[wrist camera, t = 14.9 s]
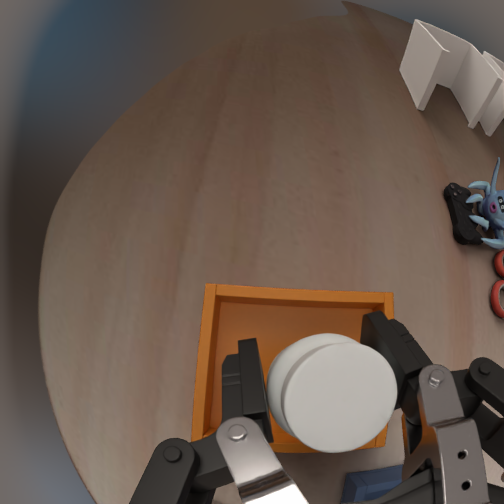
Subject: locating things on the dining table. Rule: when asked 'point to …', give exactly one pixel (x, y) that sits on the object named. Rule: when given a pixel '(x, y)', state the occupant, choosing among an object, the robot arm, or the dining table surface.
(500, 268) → the scissors
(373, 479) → the blue tray
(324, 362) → the pill bottle
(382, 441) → the amber tray
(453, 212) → the figurine
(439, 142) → the dining table surface
